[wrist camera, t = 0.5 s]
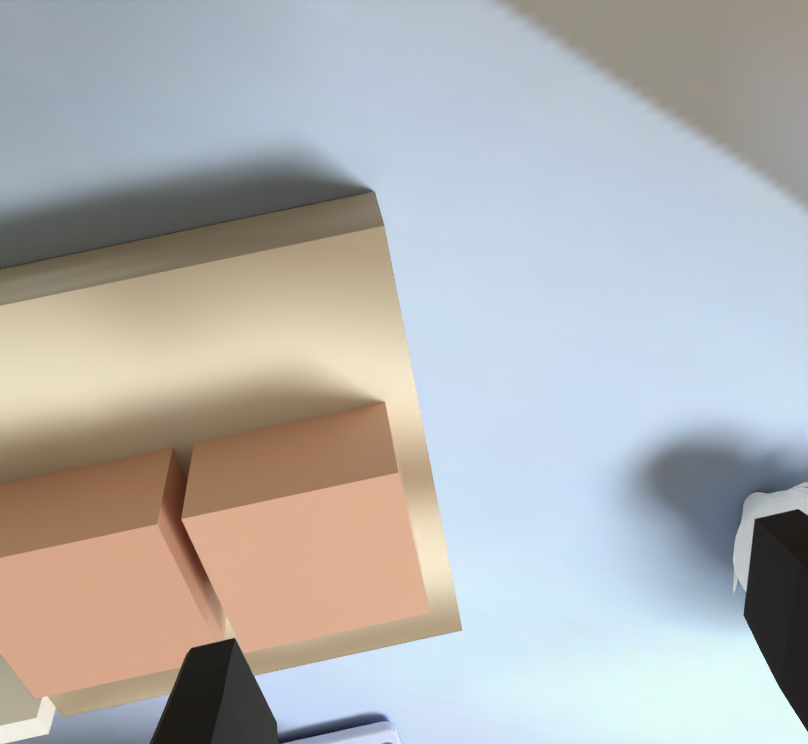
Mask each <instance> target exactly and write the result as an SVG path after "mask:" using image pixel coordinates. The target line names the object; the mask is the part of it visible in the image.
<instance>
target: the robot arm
mask: <svg viewBox="0 0 808 744" xmlns="http://www.w3.org/2000/svg"><path fill="white" fill-rule="evenodd" d="M744 617H745V619H746V621H747V623H748V625H749V627H750V629H751V631H752V633H753V636H754V638H755V640H756V642H757V644H758V646H759V648H760V650H761V652H762V654H763V656H764V658H765V660H766V662H767V664H768V666H769V668H770V670H771V672H772V674H773V676H774V678H775V680H776V681H777V683H778V685H779V687H780V689H781V690H782V692H783V694H784V695H785V697H786V698H787V700H788V702H789V703H790V705H791V706H792V708H793V709H794V711H795V713H796V714H797V716H798V717H799V719H800V720H801V722H802V724H803V725H804V727H805V728H806V730H807V731H808V515H807V514H805V513H804V512H802V511H801V510H799V509H796V510H792V511H787V512H783V513H778V514H774V515H770V516H765V517H761V518H757V519H755V520H754V529H753V538H752V547H751V555H750V564H749V573H748V582H747V590H746V599H745V608H744ZM150 744H278V734H277V722H276V720H275V718H274V716H273V714H272V712H271V710H270V708H269V706H268V704H267V702H266V700H265V698H264V696H263V694H262V692H261V690H260V687H259V685H258V683H257V681H256V679H255V677H254V675H253V673H252V671H251V669H250V667H249V665H248V663H247V661H246V659H245V657H244V655H243V653H242V651H241V649H240V647H239V645H238V643H237V641H236V639H235V638H232V639H228V640H223V641H219V642H215V643H210V644H206V645H201V646H197V647H193V648H191V649H190V650H189V651H188V653H187V654H186V655H185V658H184V661H183V663H182V666H181V668H180V671H179V673H178V676H177V679H176V681H175V684H174V686H173V689H172V691H171V694H170V696H169V699H168V701H167V704H166V706H165V708H164V711H163V713H162V716H161V718H160V721H159V723H158V725H157V728H156V730H155V732H154V735H153V737H152V739H151V742H150ZM282 744H401V741H400V738H399V735H398V732H397V728H396V726H395V725H394V724H393V723H391V722H386V721H384V722H377V723H373V724H368V725H364V726H359V727H355V728H350V729H345V730H341V731H336V732H332V733H327V734H323V735H318V736H314V737H309V738H305V739H300V740H295V741H291V742H286V743H282Z"/></svg>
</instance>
